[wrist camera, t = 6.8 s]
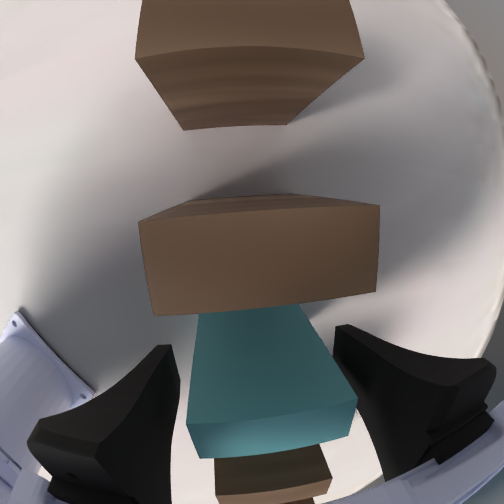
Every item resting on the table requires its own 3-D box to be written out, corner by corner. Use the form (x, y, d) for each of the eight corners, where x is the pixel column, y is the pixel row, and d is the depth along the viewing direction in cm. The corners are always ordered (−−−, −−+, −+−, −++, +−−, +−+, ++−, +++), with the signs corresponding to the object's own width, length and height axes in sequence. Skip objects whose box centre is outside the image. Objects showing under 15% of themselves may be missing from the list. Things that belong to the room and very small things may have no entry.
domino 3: (294, 329, 15) (347, 435, 7) (205, 339, 14) (199, 458, 7) (294, 297, 14) (358, 398, 7) (200, 307, 14) (185, 423, 6)
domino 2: (292, 233, 14) (375, 291, 6) (191, 241, 13) (154, 315, 5) (290, 193, 13) (379, 205, 5) (187, 201, 13) (138, 221, 5)
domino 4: (292, 397, 16) (326, 493, 8) (217, 405, 16) (222, 508, 8) (292, 375, 16) (332, 478, 8) (213, 384, 15) (215, 495, 8)
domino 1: (285, 124, 12) (364, 58, 5) (183, 130, 12) (134, 58, 4) (283, 89, 12) (348, -1, 4) (182, 93, 11) (142, -3, 4)
